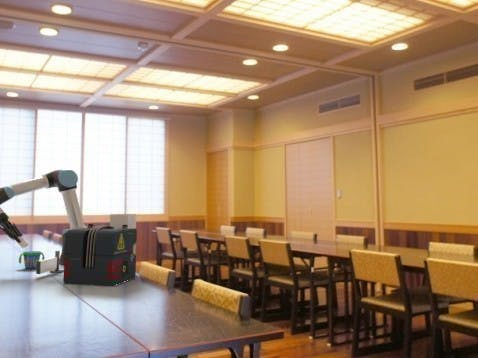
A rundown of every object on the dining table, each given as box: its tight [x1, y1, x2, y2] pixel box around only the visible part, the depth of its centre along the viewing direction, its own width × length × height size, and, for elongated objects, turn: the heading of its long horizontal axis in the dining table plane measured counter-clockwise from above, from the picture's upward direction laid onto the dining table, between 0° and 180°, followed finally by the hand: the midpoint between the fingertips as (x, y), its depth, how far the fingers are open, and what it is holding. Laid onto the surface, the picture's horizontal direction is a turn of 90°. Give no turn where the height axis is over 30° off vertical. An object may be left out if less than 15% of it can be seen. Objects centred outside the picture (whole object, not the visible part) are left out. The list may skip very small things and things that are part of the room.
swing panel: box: [35, 256, 57, 275], centre depth 273 cm, size 21×2×7 cm, turn 176°
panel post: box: [49, 250, 64, 274], centre depth 285 cm, size 8×8×12 cm
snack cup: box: [18, 250, 45, 270], centre depth 300 cm, size 16×10×10 cm
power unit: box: [62, 223, 138, 287], centre depth 255 cm, size 28×28×30 cm
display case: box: [109, 213, 137, 255], centre depth 283 cm, size 11×11×35 cm
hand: (25, 246), depth 274 cm, fingers open, 2 cm apart
